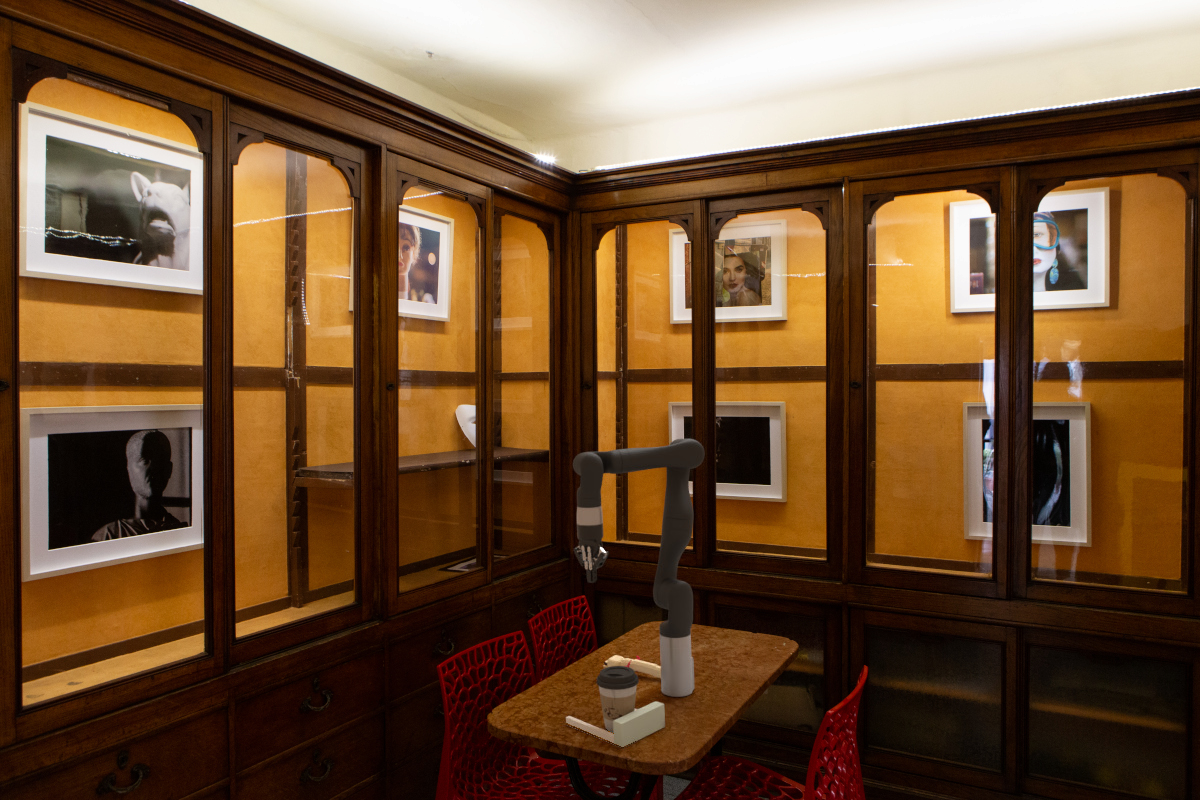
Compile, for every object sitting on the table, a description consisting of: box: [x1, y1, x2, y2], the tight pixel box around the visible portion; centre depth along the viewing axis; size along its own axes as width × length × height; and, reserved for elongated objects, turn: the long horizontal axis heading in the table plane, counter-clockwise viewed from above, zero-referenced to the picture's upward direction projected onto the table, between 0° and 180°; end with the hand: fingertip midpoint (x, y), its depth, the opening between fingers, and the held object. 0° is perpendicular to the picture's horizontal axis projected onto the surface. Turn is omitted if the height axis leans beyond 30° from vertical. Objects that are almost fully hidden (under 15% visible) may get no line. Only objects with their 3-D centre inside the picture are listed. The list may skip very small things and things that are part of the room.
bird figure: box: [602, 654, 661, 680], centre depth 238 cm, size 10×9×25 cm
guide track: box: [565, 701, 666, 748], centre depth 202 cm, size 16×21×6 cm
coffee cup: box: [595, 666, 640, 733], centre depth 201 cm, size 11×11×15 cm
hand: (591, 582), depth 218 cm, fingers closed
